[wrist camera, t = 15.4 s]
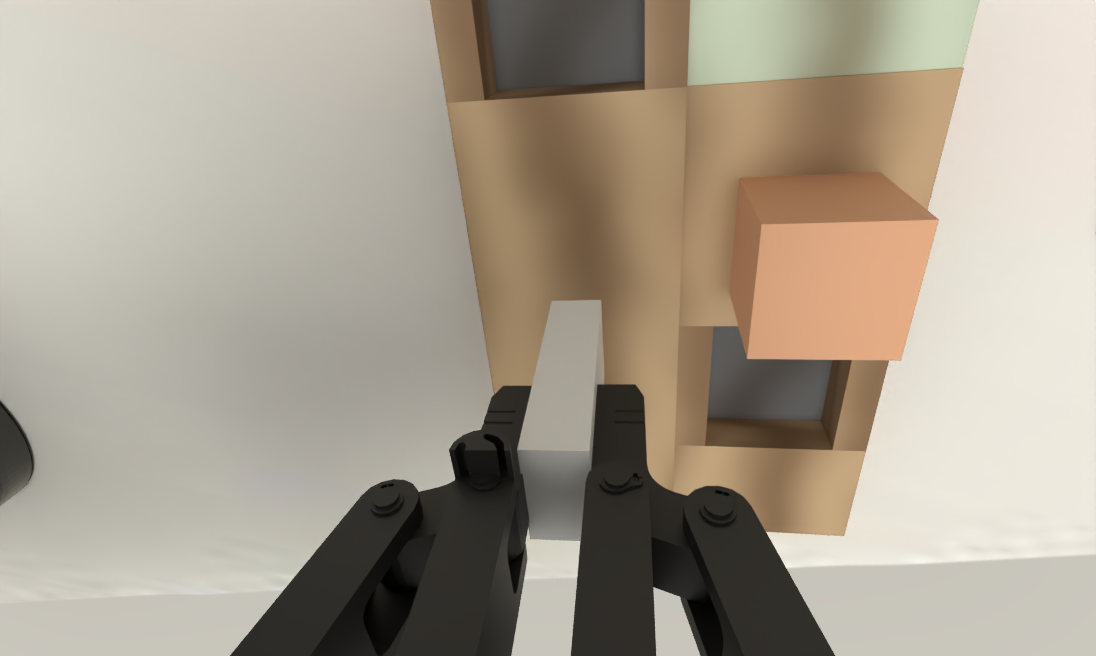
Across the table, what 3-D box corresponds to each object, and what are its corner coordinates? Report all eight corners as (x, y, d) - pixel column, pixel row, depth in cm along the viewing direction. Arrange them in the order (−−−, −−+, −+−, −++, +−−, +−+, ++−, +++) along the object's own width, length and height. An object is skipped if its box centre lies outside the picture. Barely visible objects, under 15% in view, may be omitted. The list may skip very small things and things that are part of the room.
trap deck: (522, 487, 36) (502, 567, 31) (427, -158, 20) (356, -203, 15) (831, 501, 33) (864, 593, 28) (1002, -243, 17) (1145, -331, 12)
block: (729, 293, 25) (747, 358, 20) (739, 177, 22) (761, 224, 18) (855, 292, 24) (900, 360, 20) (880, 172, 21) (938, 219, 17)
